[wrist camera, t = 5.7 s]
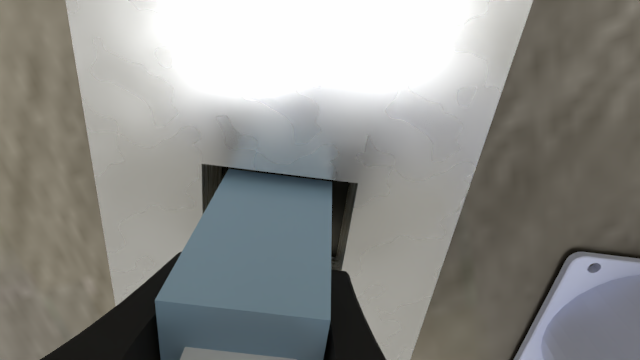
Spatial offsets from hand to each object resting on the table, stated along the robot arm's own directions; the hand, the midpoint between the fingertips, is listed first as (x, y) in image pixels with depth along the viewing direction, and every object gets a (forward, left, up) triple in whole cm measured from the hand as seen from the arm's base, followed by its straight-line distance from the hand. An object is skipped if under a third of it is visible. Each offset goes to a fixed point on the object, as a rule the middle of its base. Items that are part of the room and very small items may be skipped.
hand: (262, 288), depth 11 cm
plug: (0, 0, -3) cm, 3 cm away
